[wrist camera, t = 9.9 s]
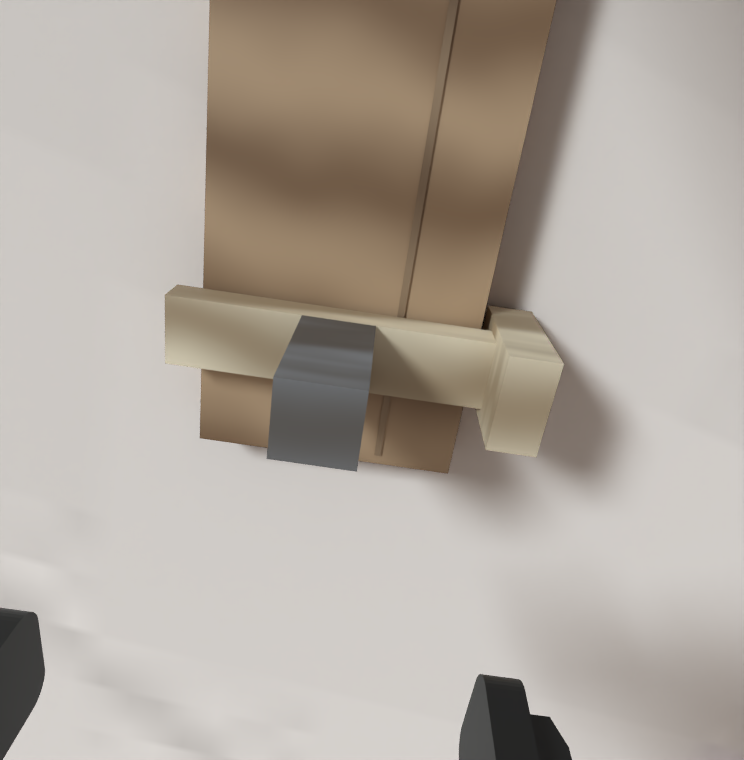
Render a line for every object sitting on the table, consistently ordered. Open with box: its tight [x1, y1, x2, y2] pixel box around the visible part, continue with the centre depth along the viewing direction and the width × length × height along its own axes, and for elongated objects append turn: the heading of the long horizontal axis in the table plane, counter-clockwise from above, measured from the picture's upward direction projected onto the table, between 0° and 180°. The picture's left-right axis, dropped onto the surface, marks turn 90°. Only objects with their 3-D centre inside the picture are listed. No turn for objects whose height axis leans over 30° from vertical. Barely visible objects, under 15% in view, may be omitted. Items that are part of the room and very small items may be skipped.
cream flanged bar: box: [165, 285, 564, 471], centre depth 24 cm, size 4×15×10 cm, turn 82°
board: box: [200, 0, 556, 473], centre depth 24 cm, size 26×12×2 cm, turn 172°
